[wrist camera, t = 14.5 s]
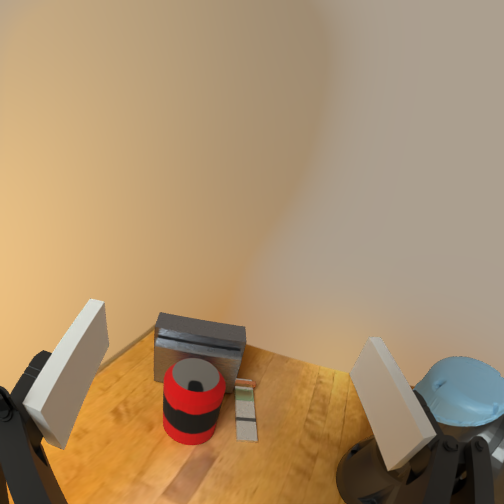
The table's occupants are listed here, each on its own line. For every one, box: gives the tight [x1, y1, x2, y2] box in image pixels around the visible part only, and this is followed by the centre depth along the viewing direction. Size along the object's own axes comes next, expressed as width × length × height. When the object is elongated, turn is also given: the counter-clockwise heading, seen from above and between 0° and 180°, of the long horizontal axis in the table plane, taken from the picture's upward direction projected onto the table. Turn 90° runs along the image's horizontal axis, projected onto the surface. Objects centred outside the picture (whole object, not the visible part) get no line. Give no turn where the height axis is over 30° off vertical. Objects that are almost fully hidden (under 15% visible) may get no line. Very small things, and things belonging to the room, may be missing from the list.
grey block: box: [154, 338, 256, 393], centre depth 44 cm, size 17×7×8 cm, turn 94°
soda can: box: [163, 358, 226, 445], centre depth 33 cm, size 8×8×12 cm
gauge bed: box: [154, 312, 258, 443], centre depth 39 cm, size 17×16×10 cm
